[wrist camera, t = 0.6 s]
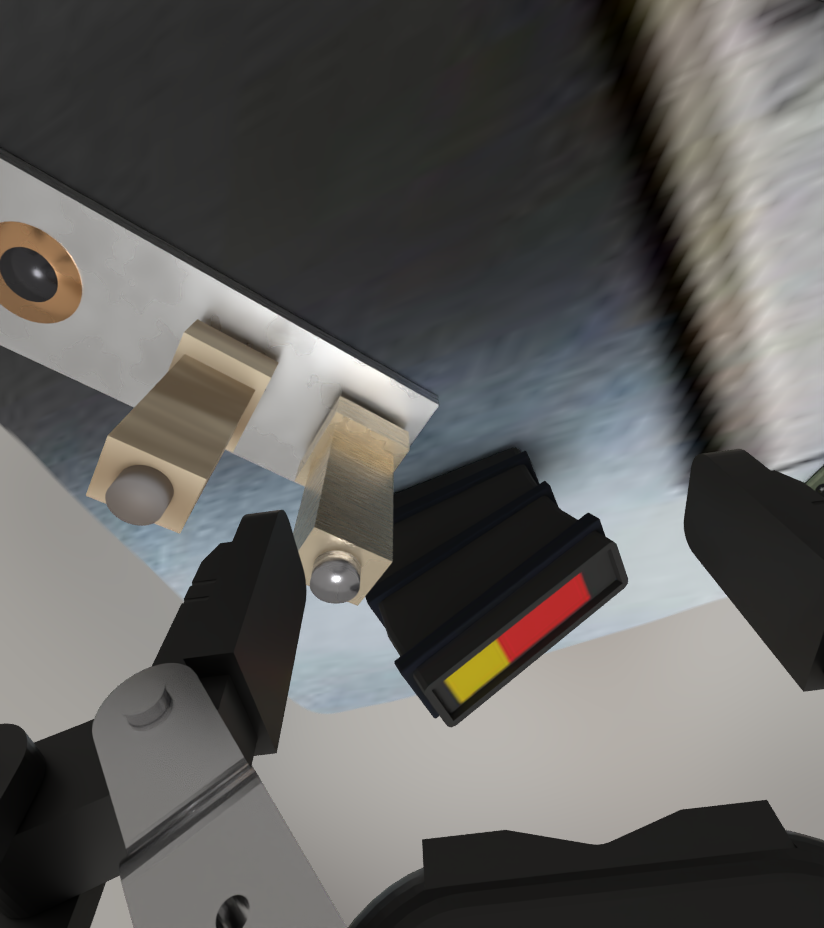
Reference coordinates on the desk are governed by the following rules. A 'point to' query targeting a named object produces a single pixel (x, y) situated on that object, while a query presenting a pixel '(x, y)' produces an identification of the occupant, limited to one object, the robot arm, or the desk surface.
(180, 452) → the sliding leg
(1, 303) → the bolt-hole plate
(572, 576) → the black boxy piece
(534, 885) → the robot arm
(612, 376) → the desk surface
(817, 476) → the handheld radio
